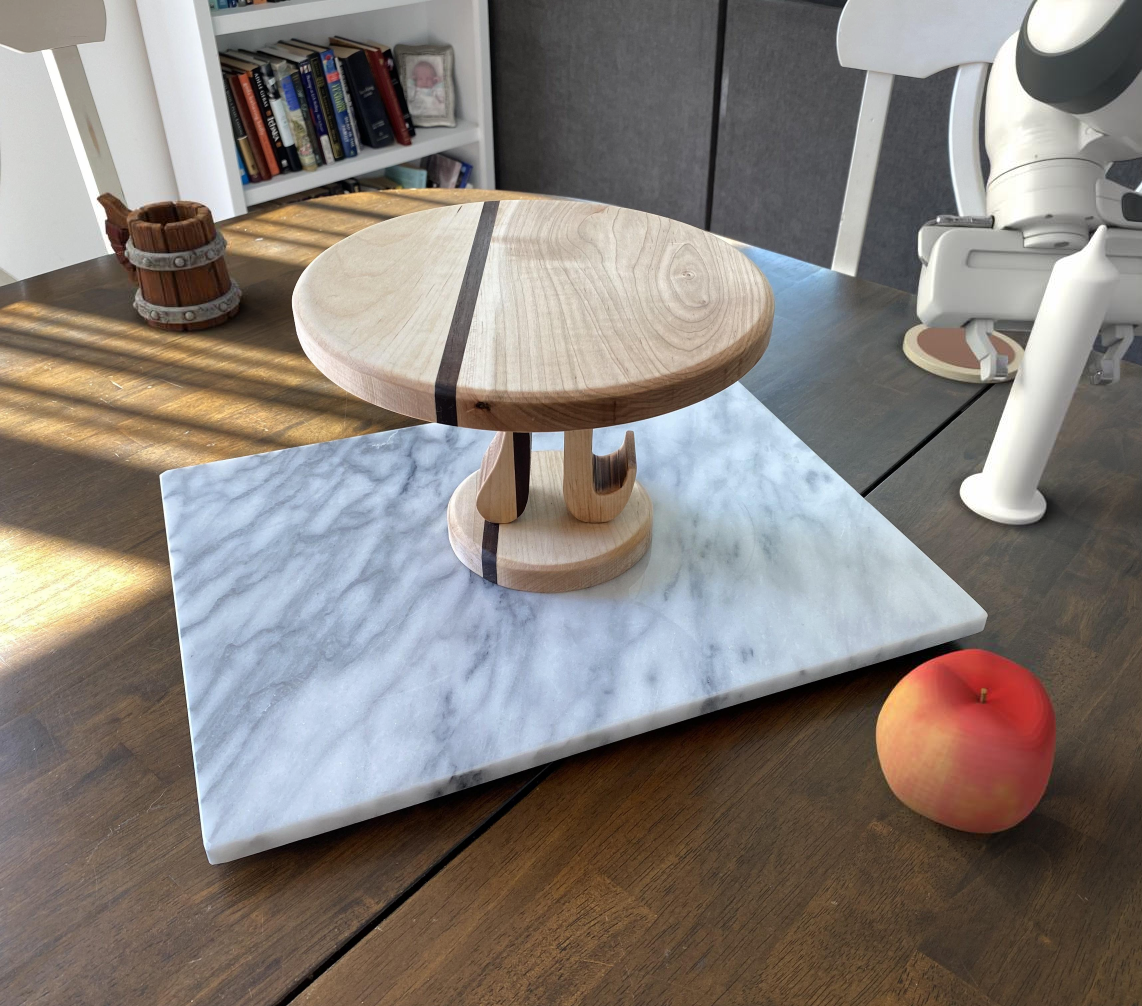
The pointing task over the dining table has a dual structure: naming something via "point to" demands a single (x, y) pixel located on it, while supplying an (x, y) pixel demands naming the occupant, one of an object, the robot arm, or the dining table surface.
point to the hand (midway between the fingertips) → (1049, 381)
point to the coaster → (956, 353)
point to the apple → (968, 741)
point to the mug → (173, 262)
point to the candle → (1044, 386)
